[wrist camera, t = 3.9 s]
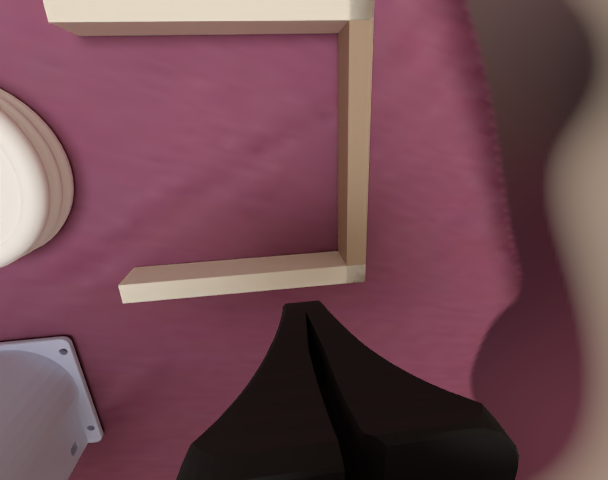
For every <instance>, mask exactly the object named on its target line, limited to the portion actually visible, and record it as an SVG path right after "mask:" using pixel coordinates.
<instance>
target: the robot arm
mask: <svg viewBox="0 0 608 480" xmlns="http://www.w3.org/2000/svg"><path fill="white" fill-rule="evenodd" d="M63 349H66V350H67V351H65V350H63ZM102 437H103V430H102V427H101V425H100V422H99V419H98V416H97V413H96V410H95V407H94V404H93V401H92V398H91V395H90V392H89V390H88V387H87V384H86V381H85V378H84V375H83V372H82V369H81V366H80V363H79V360H78V358H77V355H76V352H75V349H74V346H73V343H72V341H71V339H70V338H68V337H65V336H60V337H50V338H40V339H29V340H19V341H9V342H0V480H68V479H69V477H70V475H71V473H72V471H73V470H74V468H75V466H76V464H77V462H78V460H79V459H80V457H81V455H82V453H83V451H84V449H85V447H86V446H87V444H88V443H93V442H98V441H100V440H101V439H102ZM518 459H519V454H518V451H517V448H516V445H515V444H514V443H513V441H512V440H511V439H510V438H509V436H508V435H507V434H506V432H505V431H504V429H503V428H502V427H501V426H500V424H499V423H498V422H497V420H496V419H495V418H494V417H493V416H492V415H491V414H490V412H489V411H488V410H487V409H486V408H485V407H484V406H483V405H482V403H479V402H476V401H474V400H471V399H468V398H465V397H463V396H460V395H457V394H454V393H452V392H449V391H446V390H444V389H441V388H439V387H437V386H435V385H432V384H430V383H428V382H426V381H424V380H422V379H420V378H417V377H415V376H413V375H411V374H410V373H408V372H406V371H404V370H402V369H401V368H399V367H397V366H395V365H393V364H392V363H390V362H389V361H387V360H385V359H384V358H382V357H381V356H379V355H378V354H376V353H375V352H374V351H372V350H371V349H369V348H368V347H367V346H365V345H364V344H363V343H362V342H360V341H359V340H358V339H357V338H356V337H355V336H353V335H352V334H351V333H350V332H349V331H348V330H347V329H346V328H345V327H344V326H343V325H342V324H341V323H340V322H339V321H338V320H337V319H336V318H335V317H334V316H333V315H332V314H331V313H330V312H329V311H328V310H327V309H326V307H325V306H324V305H323V304H322V303H321V302H320V301H310V302H299V303H289V304H285V305H284V306H283V312H282V317H281V321H280V324H279V327H278V330H277V332H276V335H275V338H274V340H273V342H272V344H271V346H270V348H269V350H268V352H267V354H266V356H265V358H264V360H263V362H262V363H261V365H260V367H259V368H258V370H257V371H256V373H255V375H254V376H253V377H252V379H251V380H250V382H249V383H248V385H247V386H246V387H245V389H244V390H243V391H242V393H241V394H240V395H239V396H238V398H237V399H236V400H235V401H234V402H233V403H232V404H231V405H230V407H229V408H228V409H227V410H226V411H225V412H224V413H223V414H222V416H221V417H220V418H219V419H218V420H217V421H216V422H215V423H214V424H213V425H212V426H210V427H209V428H208V429H207V430H206V431H205V432H204V433H203V434H202V435H201V436H200V437H199V438H198V439H196V440H195V441H194V442H193V443H192V444H191V445H190V447H189V449H188V452H187V454H186V456H185V459H184V461H183V463H182V466H181V468H180V471H179V474H178V476H177V479H176V480H515V477H516V473H517V469H518Z"/></svg>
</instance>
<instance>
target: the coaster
mask: <svg viewBox="0 0 608 480" xmlns="http://www.w3.org/2000/svg"><path fill="white" fill-rule="evenodd" d="M73 195H74V183H73V175H72V170H71V166H70V163H69V161H68V158H67V155H66V153H65V151H64V149H63V147H62V145H61V143H60V142H59V140H58V139H57V137H56V136H55V134H54V133H53V132H52V130H51V129H50V128H49V127H48V125H47V124H46V123H45V122H44V121H43V120H42V119H41V118H40V117H39V116H38V115H37V114H36V113H35V112H34V111H33V110H32V109H30V108H29V107H28V106H27V105H26V104H24V103H23V102H21V101H20V100H18V99H17V98H16V97H14V96H12V95H11V94H9V93H7V92H5V91H4V90H2V89H0V268H1V267H4V266H7V265H9V264H10V263H12V262H14V261H16V260H18V259H19V258H21V257H23V256H25V255H26V254H28V253H30V252H32V251H33V250H35V249H37V248H39V247H41V246H43V245H44V244H45V243H47V242H48V241H50V240H51V239H52V238H53V237H54V236H55V235H56V234H57V233H58V232H59V230H60V229H61V227H62V226H63V224H64V223H65V221H66V219H67V217H68V215H69V213H70V210H71V206H72V203H73Z"/></svg>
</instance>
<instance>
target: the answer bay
mask: <svg viewBox="0 0 608 480" xmlns="http://www.w3.org/2000/svg"><path fill="white" fill-rule="evenodd" d="M43 3H44V7H45V10H46V14H47V18H48V22H49V23H51V24H53V25H56V26H58V27H60V28H62V29H64V30H66V31H68V32H71V33H73V34H75V35H77V36H147V35H236V34H326V33H338V251H332V252H319V253H307V254H294V255H282V256H269V257H257V258H244V259H232V260H219V261H207V262H194V263H182V264H169V265H157V266H144V267H134V268H133V269H132V270H131V271H130V273H129V274H128V275H127V276H126V277H125V278H124V279H123V281H122V282H121V283H120V284H119V285H118V287H119V290H120V294H121V298H122V302H123V303H134V302H145V301H156V300H167V299H178V298H189V297H200V296H211V295H222V294H233V293H244V292H255V291H266V290H277V289H288V288H299V287H311V286H322V285H333V284H344V283H355V282H365V266H366V236H367V206H368V176H369V146H370V116H371V85H372V55H373V25H374V0H43Z"/></svg>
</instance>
